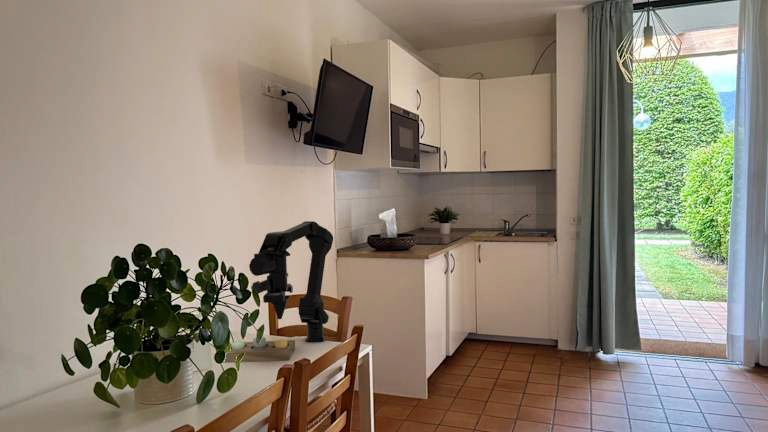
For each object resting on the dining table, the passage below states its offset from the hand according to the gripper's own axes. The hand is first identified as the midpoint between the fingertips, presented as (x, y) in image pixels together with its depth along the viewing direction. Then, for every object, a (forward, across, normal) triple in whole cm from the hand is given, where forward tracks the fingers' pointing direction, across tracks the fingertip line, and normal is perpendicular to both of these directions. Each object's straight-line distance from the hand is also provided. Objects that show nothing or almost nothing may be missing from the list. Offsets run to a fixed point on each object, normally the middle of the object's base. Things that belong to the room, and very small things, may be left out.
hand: (279, 319), depth 174 cm
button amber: (+11, 0, 0) cm, 11 cm away
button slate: (+10, 0, -7) cm, 12 cm away
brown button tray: (+12, 0, -7) cm, 14 cm away
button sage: (+11, 0, -14) cm, 18 cm away
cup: (+12, +10, -24) cm, 29 cm away
